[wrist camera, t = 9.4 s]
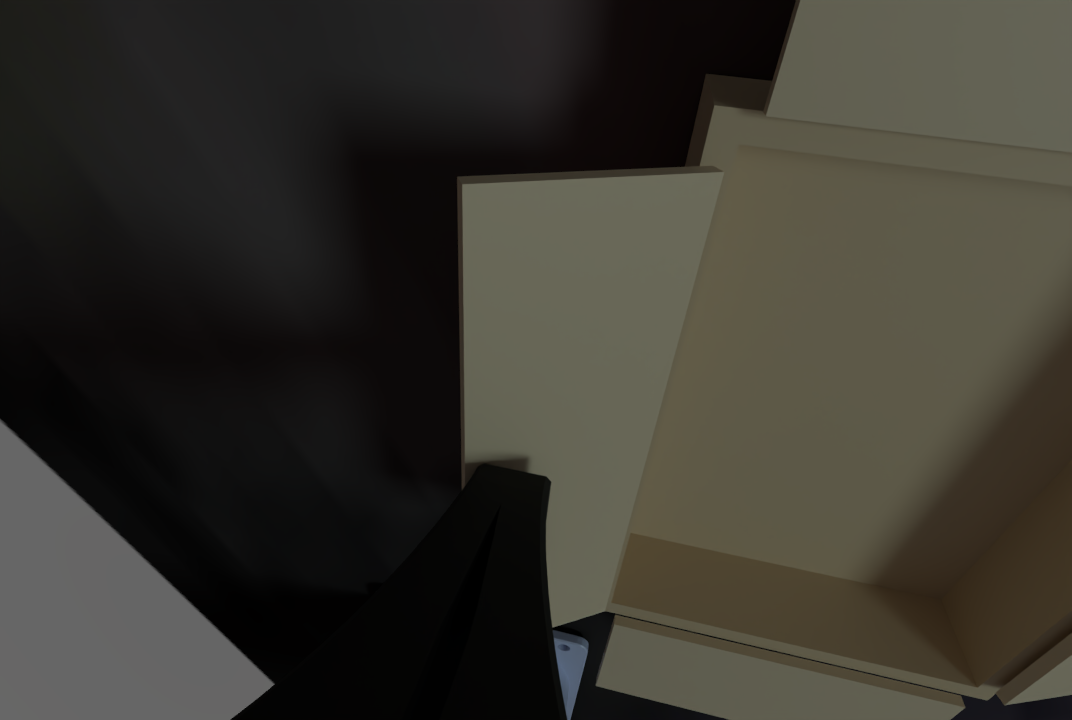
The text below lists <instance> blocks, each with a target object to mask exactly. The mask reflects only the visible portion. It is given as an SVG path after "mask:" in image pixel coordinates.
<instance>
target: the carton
mask: <svg viewBox="0 0 1072 720" xmlns="http://www.w3.org/2000/svg"><path fill="white" fill-rule="evenodd" d="M691 166H715V167H716V168H718V169H720V170H722V171H724V175H723V179H722V183H721V186H720V190H719V194H718V197H717V201H716V205H715V208H714V212H713V216H712V219H711V223H710V227H709V230H708V234H707V238H706V241H705V245H704V249H703V252H702V256H701V260H700V264H699V267H698V271H697V275H696V278H695V282H694V286H693V289H692V293H691V297H690V300H689V304H688V308H687V311H686V315H685V319H684V322H683V326H682V330H681V333H680V337H679V341H678V344H677V348H676V352H675V355H674V359H673V363H672V367H671V370H670V374H669V378H668V381H667V385H666V389H665V392H664V396H663V400H662V403H661V407H660V411H659V414H658V418H657V422H656V425H655V429H654V433H653V436H652V440H651V444H650V447H649V451H648V455H647V459H646V462H645V466H644V470H643V473H642V477H641V481H640V484H639V488H638V492H637V495H636V499H635V503H634V506H633V510H632V514H631V517H630V521H629V525H628V528H627V532H626V536H625V539H624V543H623V547H622V551H621V554H620V558H619V562H618V565H617V569H616V573H615V576H614V580H613V584H612V587H611V591H610V595H609V598H608V602H607V606H606V609H605V611H608V612H612V613H616V614H621V615H625V616H629V617H633V618H638V619H642V620H646V621H651V622H655V623H659V624H663V625H668V626H672V627H676V628H680V629H685V630H689V631H693V632H698V633H702V634H706V635H710V636H715V637H719V638H723V639H727V640H732V641H736V642H740V643H744V644H749V645H753V646H757V647H762V648H766V649H770V650H774V651H779V652H783V653H787V654H791V655H796V656H800V657H804V658H809V659H813V660H817V661H821V662H826V663H830V664H834V665H838V666H843V667H847V668H851V669H856V670H860V671H864V672H868V673H873V674H877V675H881V676H885V677H890V678H894V679H898V680H902V681H907V682H911V683H915V684H920V685H924V686H928V687H932V688H937V689H941V690H945V691H949V692H954V693H958V694H962V695H967V696H971V697H975V698H979V699H984V700H988V699H990V698H991V697H992V696H993V695H995V694H996V692H997V691H998V690H999V689H1001V688H1002V687H1003V686H1005V685H1006V684H1007V683H1008V682H1010V681H1011V680H1012V679H1013V678H1015V677H1016V676H1017V675H1019V674H1020V673H1021V672H1022V671H1024V670H1025V669H1026V668H1028V667H1029V666H1030V665H1031V664H1033V663H1034V662H1035V661H1036V660H1038V659H1039V658H1040V657H1042V656H1043V655H1044V654H1045V653H1047V652H1048V651H1049V650H1051V649H1052V648H1053V647H1054V646H1056V645H1057V644H1058V643H1059V642H1061V641H1062V640H1063V639H1065V638H1066V637H1067V636H1068V635H1070V634H1071V633H1072V0H796V2H795V5H794V9H793V12H792V15H791V19H790V22H789V26H788V29H787V32H786V36H785V39H784V43H783V46H782V49H781V53H780V56H779V60H778V63H777V66H776V70H775V73H774V77H773V80H772V81H768V80H759V79H750V78H741V77H732V76H723V75H714V74H706V76H705V80H704V84H703V89H702V93H701V98H700V102H699V106H698V111H697V115H696V119H695V124H694V128H693V133H692V137H691V141H690V146H689V150H688V155H687V159H686V163H685V167H691ZM596 686H598V687H602V688H606V689H610V690H614V691H618V692H622V693H626V694H630V695H634V696H638V697H642V698H646V699H650V700H654V701H658V702H662V703H666V704H670V705H674V706H678V707H682V708H686V709H690V710H694V711H698V712H702V713H706V714H710V715H714V716H718V717H722V718H726V719H730V720H950V719H952V718H953V717H954V716H955V715H957V714H958V713H959V712H960V711H962V710H963V709H964V708H965V706H964V703H963V700H962V698H961V696H959V695H955V694H951V693H946V692H942V691H938V690H934V689H929V688H925V687H921V686H916V685H912V684H908V683H904V682H899V681H895V680H891V679H887V678H882V677H878V676H874V675H870V674H865V673H861V672H857V671H853V670H848V669H844V668H840V667H835V666H831V665H827V664H823V663H818V662H814V661H810V660H806V659H801V658H797V657H793V656H789V655H784V654H780V653H776V652H772V651H767V650H763V649H759V648H754V647H750V646H746V645H742V644H737V643H733V642H729V641H725V640H720V639H716V638H712V637H708V636H703V635H699V634H695V633H691V632H686V631H682V630H678V629H673V628H669V627H665V626H661V625H656V624H652V623H648V622H644V621H639V620H635V619H631V618H627V617H622V616H618V615H615V617H614V620H613V624H612V627H611V630H610V634H609V637H608V641H607V644H606V647H605V651H604V654H603V658H602V661H601V664H600V668H599V671H598V675H597V680H596Z"/></svg>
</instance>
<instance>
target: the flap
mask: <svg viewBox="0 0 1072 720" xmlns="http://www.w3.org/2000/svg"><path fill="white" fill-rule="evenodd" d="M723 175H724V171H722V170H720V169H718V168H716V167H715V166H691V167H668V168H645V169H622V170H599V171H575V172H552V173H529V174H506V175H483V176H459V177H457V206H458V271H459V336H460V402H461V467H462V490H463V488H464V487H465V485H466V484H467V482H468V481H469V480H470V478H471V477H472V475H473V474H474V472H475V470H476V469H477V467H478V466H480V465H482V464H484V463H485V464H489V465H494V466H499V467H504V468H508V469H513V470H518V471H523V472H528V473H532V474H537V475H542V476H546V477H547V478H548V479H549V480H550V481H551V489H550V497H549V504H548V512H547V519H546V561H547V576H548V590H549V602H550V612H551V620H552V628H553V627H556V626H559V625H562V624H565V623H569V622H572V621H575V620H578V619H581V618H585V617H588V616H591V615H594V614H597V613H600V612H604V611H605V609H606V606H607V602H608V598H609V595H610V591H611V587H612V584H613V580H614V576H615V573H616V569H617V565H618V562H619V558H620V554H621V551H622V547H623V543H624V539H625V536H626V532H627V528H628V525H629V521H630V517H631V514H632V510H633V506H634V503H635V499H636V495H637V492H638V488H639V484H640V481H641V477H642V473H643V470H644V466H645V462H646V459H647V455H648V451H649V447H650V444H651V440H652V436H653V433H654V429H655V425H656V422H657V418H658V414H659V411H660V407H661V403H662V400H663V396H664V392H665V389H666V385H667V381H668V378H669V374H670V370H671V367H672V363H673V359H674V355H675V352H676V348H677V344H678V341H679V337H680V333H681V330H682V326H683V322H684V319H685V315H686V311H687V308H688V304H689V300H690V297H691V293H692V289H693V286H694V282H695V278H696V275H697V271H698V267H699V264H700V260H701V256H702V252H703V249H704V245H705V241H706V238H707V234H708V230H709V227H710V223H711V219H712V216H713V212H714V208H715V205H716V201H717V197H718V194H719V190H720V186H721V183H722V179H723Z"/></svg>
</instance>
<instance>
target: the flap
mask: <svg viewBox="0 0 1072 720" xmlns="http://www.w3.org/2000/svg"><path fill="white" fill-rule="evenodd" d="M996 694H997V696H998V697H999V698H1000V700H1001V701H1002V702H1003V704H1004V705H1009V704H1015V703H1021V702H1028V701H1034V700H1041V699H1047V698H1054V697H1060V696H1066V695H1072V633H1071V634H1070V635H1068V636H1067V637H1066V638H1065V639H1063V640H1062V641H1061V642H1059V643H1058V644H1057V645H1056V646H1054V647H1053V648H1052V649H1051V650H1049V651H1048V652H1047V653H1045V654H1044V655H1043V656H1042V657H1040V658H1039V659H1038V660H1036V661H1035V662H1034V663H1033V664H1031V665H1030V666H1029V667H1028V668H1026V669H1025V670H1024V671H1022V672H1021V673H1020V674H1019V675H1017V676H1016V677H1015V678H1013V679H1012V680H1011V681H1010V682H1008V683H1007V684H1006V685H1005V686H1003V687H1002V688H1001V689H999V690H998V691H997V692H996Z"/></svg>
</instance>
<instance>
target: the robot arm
mask: <svg viewBox="0 0 1072 720" xmlns="http://www.w3.org/2000/svg"><path fill="white" fill-rule="evenodd" d="M550 489H551V481H550V480H549V479H548V478H547V477H546V476H542V475H537V474H532V473H528V472H523V471H518V470H513V469H508V468H504V467H499V466H494V465H489V464H485V463H484V464H482V465H480V466H478V467H477V469H476V470H475V472H474V474H473V475H472V477H471V478H470V480H469V481H468V482H467V484H466V485H465V487H464V488H463V490H462V491H461V492H460V494H459V495H458V496H457V498H456V499H455V500H454V502H453V503H452V504H451V506H450V507H449V508H448V510H447V511H446V512H445V513H444V515H443V516H442V517H441V519H440V520H439V521H438V522H437V523H436V525H435V526H434V527H433V528H432V529H431V531H430V532H429V533H428V534H427V535H426V537H425V538H424V539H423V540H422V541H421V542H420V544H419V545H418V546H417V547H416V548H415V550H414V551H413V552H412V553H411V554H410V555H409V556H408V558H407V559H406V560H405V561H404V562H403V563H402V564H401V565H400V566H399V567H398V568H397V569H396V571H395V572H394V573H393V574H392V575H391V576H390V577H389V578H388V579H387V580H386V581H385V582H384V583H383V584H382V585H381V587H380V588H379V589H378V590H377V591H376V592H375V593H374V594H373V595H372V596H371V597H370V598H369V599H368V600H367V601H366V602H365V603H364V604H363V605H362V606H361V607H360V608H359V609H358V610H357V611H356V612H355V613H354V614H353V615H352V616H351V617H350V618H349V619H348V620H347V621H346V622H345V623H344V624H343V625H341V626H340V627H339V628H338V629H337V630H336V631H335V632H334V633H333V634H332V635H331V636H330V637H329V638H327V639H326V640H325V641H324V642H323V643H322V644H321V645H320V646H319V647H318V648H316V649H315V650H314V651H313V652H312V653H311V654H310V655H308V656H307V657H306V658H305V659H304V660H303V661H302V662H300V663H299V664H298V665H297V666H296V667H295V668H293V669H292V670H291V671H290V672H289V673H288V674H287V675H285V676H284V677H283V678H282V679H281V680H280V681H278V682H277V683H276V684H275V685H274V686H272V687H271V688H270V689H269V690H268V691H266V692H265V693H264V694H263V695H262V696H260V697H259V698H258V699H257V700H255V701H254V702H253V703H251V704H250V705H249V706H248V707H246V708H245V709H244V710H242V711H241V712H240V713H238V714H237V715H236V716H235V717H233V718H232V719H231V720H570V719H571V715H572V711H573V707H574V703H575V699H576V695H577V692H578V688H579V684H580V680H581V676H582V672H583V668H584V664H585V661H586V657H587V653H588V646H589V645H588V642H587V641H586V639H584V638H583V637H580V636H577V635H573V634H569V633H564V632H560V631H556V630H553V628H552V620H551V612H550V602H549V590H548V576H547V561H546V519H547V512H548V504H549V497H550Z"/></svg>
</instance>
